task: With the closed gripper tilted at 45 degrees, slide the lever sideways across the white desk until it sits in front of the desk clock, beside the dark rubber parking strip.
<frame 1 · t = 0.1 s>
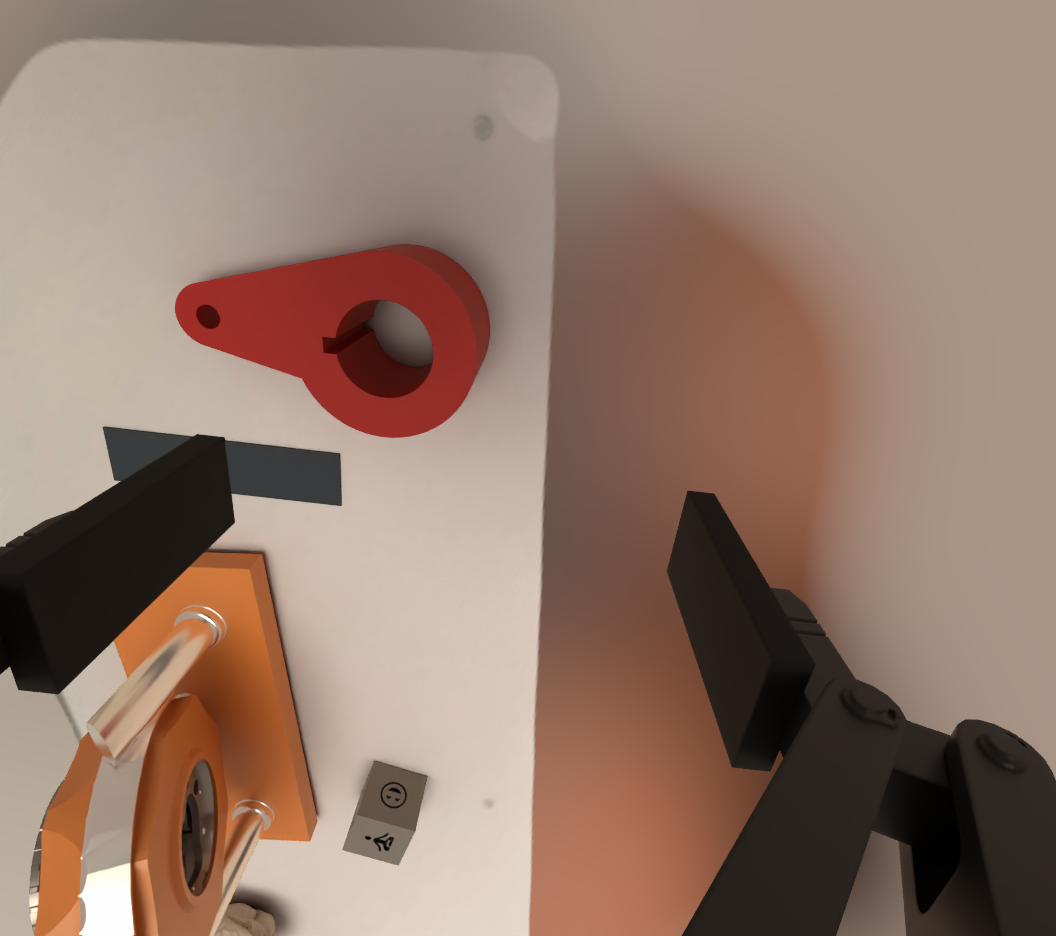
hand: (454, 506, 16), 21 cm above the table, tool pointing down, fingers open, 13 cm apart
parking strip: (225, 466, 39), on the table
desk clock: (232, 695, 48), on the table
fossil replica: (246, 915, 62), on the table
lever: (344, 319, 35), on the table
dice cube: (393, 783, 52), on the table
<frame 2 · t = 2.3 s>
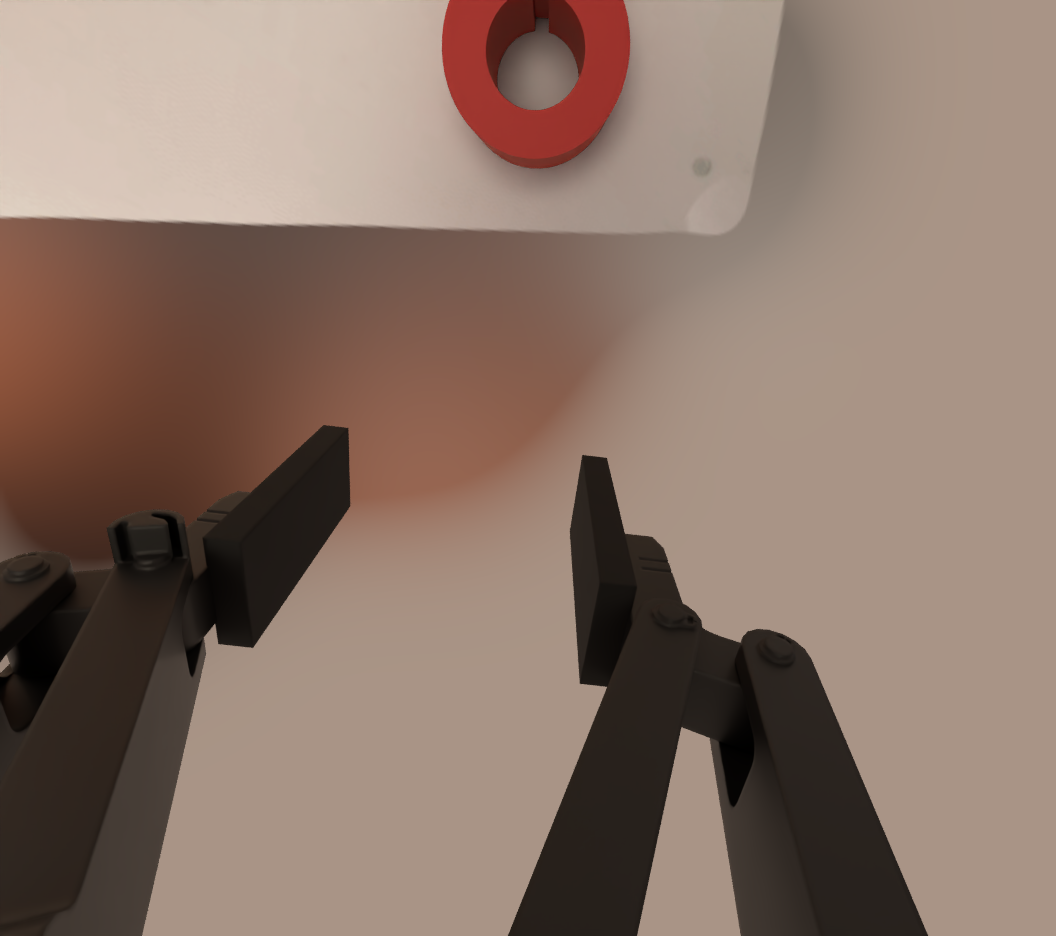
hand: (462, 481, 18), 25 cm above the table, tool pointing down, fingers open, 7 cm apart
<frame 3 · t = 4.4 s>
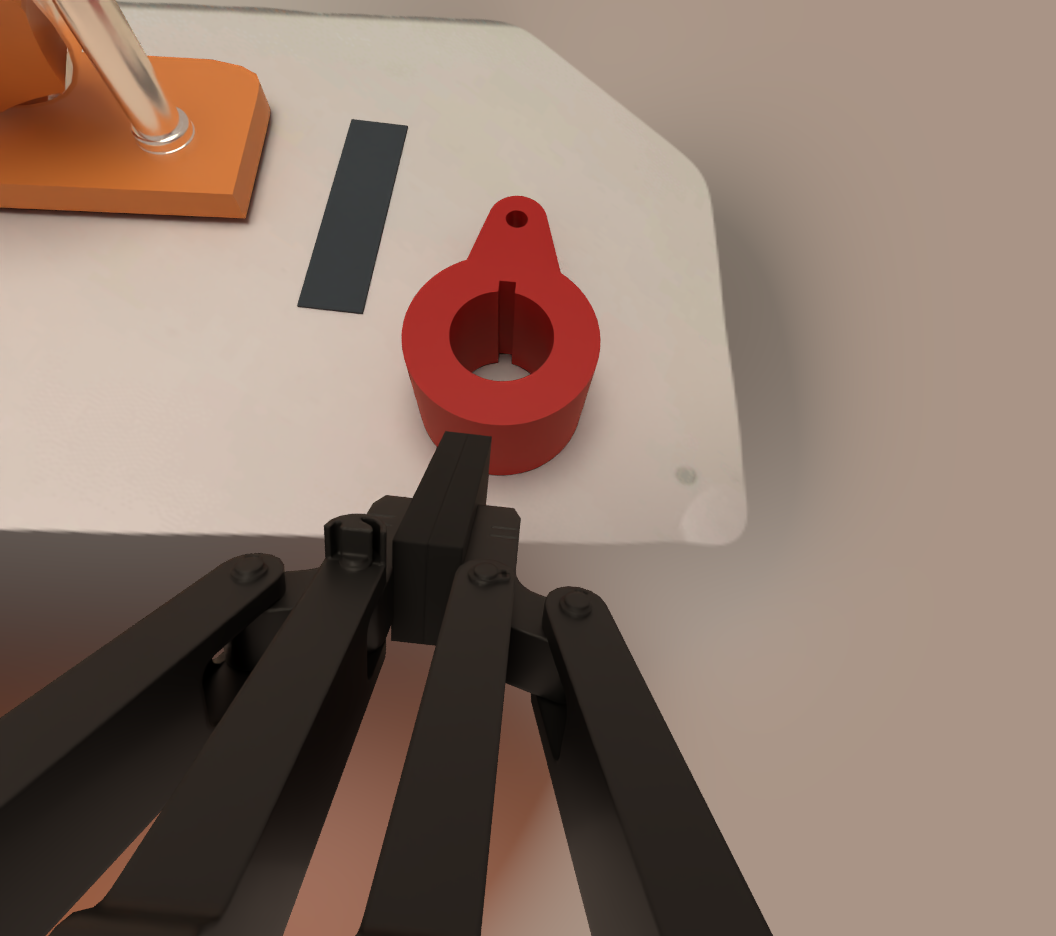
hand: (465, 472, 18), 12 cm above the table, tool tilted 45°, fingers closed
parking strip: (356, 209, 37), on the table
desk clock: (38, 151, 38), on the table
lever: (507, 338, 34), on the table
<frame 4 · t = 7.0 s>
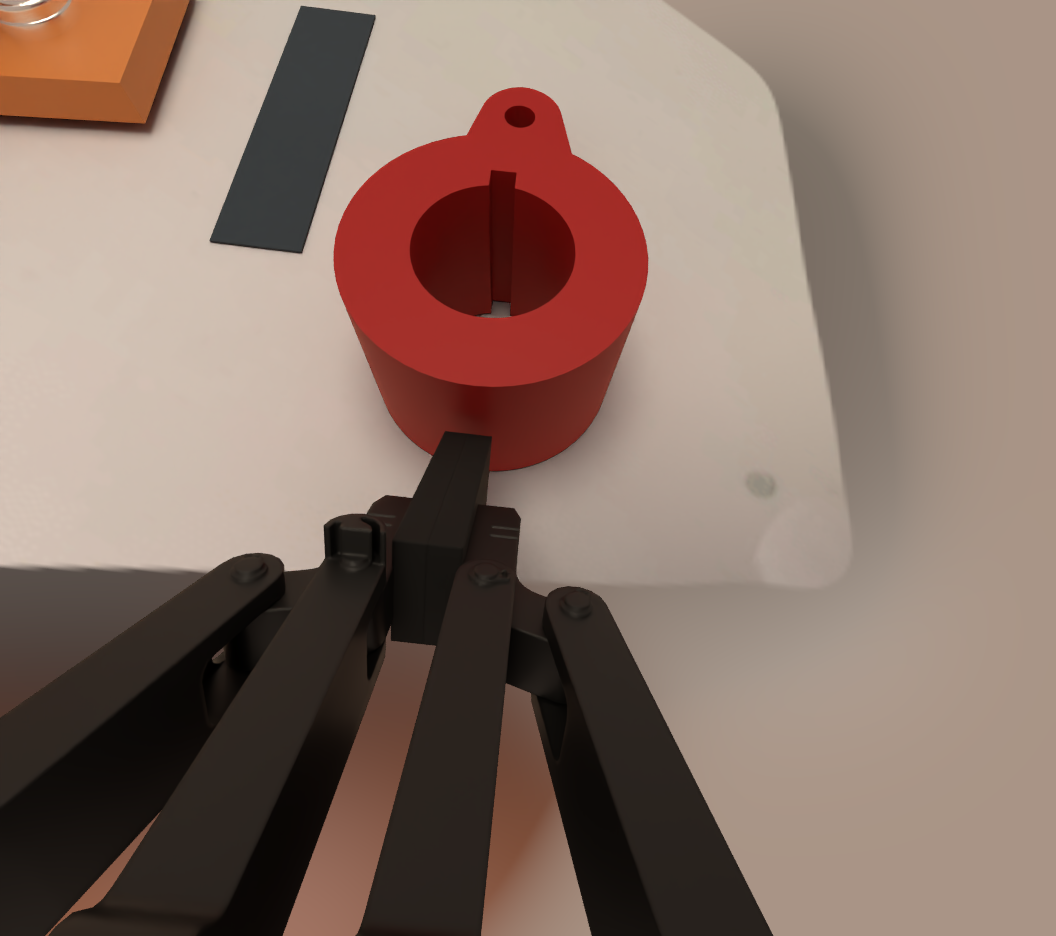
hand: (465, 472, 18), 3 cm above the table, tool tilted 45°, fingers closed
parking strip: (301, 117, 27), on the table
lever: (504, 282, 25), on the table, touching gripper
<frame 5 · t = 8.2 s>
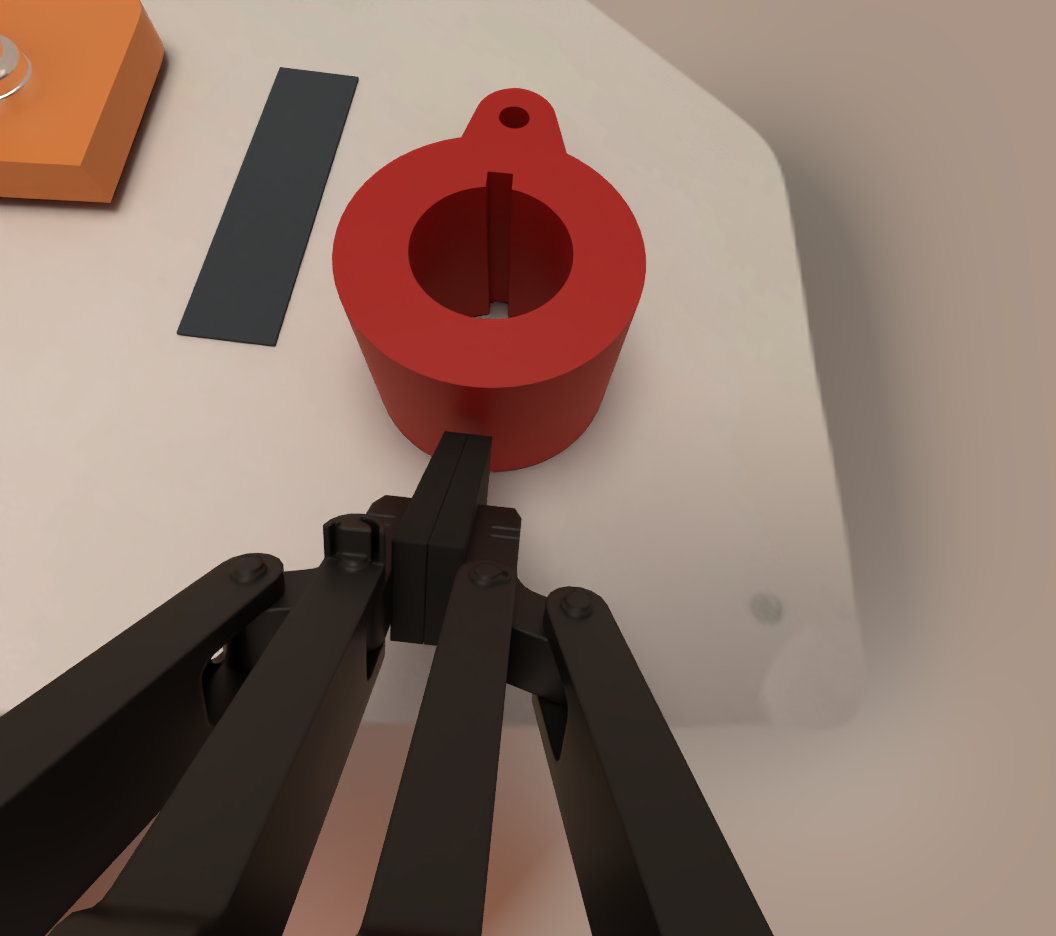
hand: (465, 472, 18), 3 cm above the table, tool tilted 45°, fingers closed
parking strip: (278, 192, 26), on the table
lever: (502, 282, 25), on the table, touching gripper
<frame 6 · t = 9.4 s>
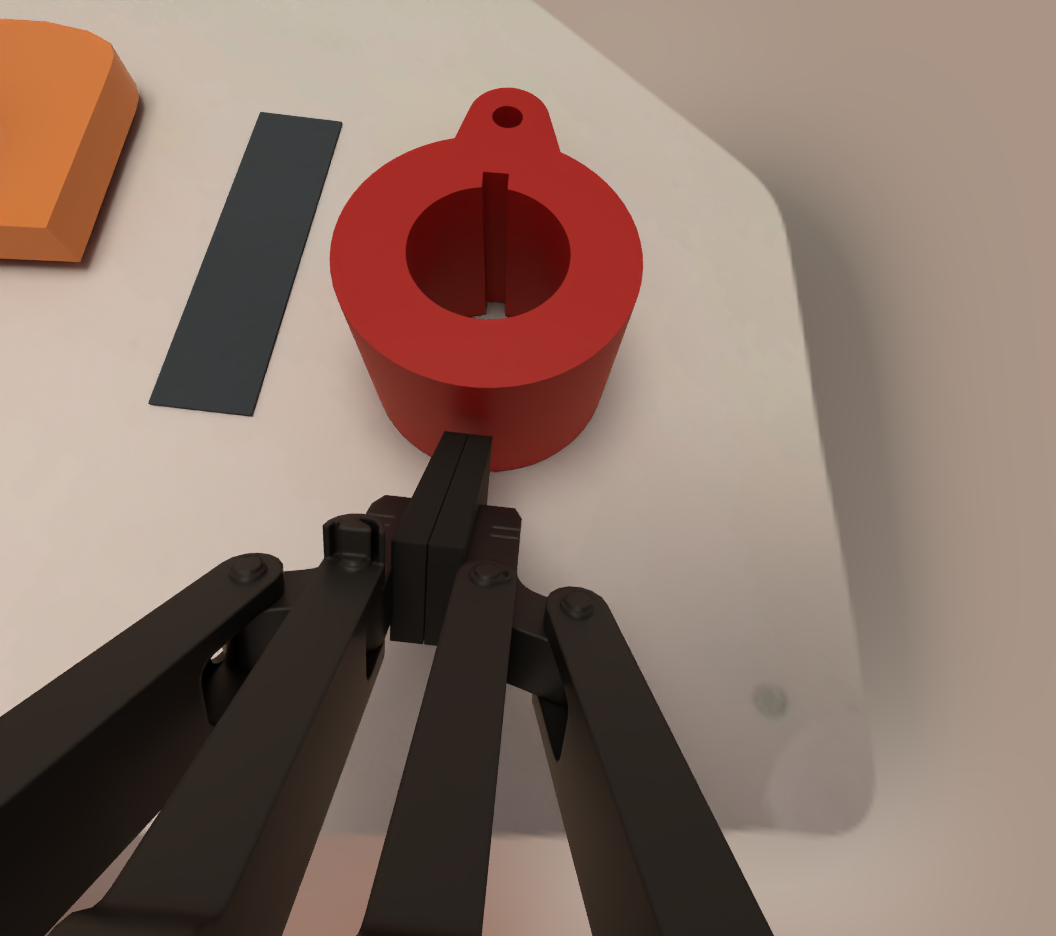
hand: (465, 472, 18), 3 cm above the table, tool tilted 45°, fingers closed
parking strip: (257, 247, 25), on the table
lever: (498, 282, 25), on the table, touching gripper
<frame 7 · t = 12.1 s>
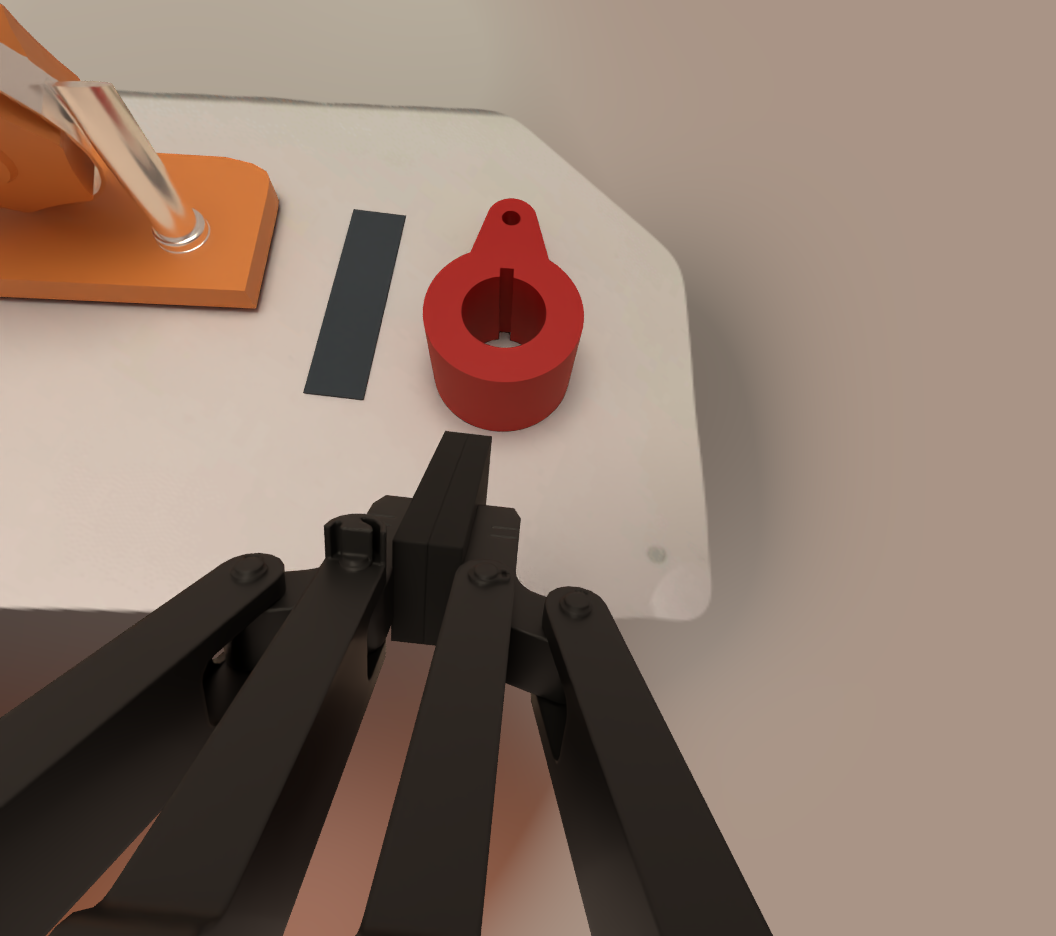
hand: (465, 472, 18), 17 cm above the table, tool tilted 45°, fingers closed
parking strip: (358, 298, 40), on the table
desk clock: (63, 240, 41), on the table
lever: (505, 319, 41), on the table
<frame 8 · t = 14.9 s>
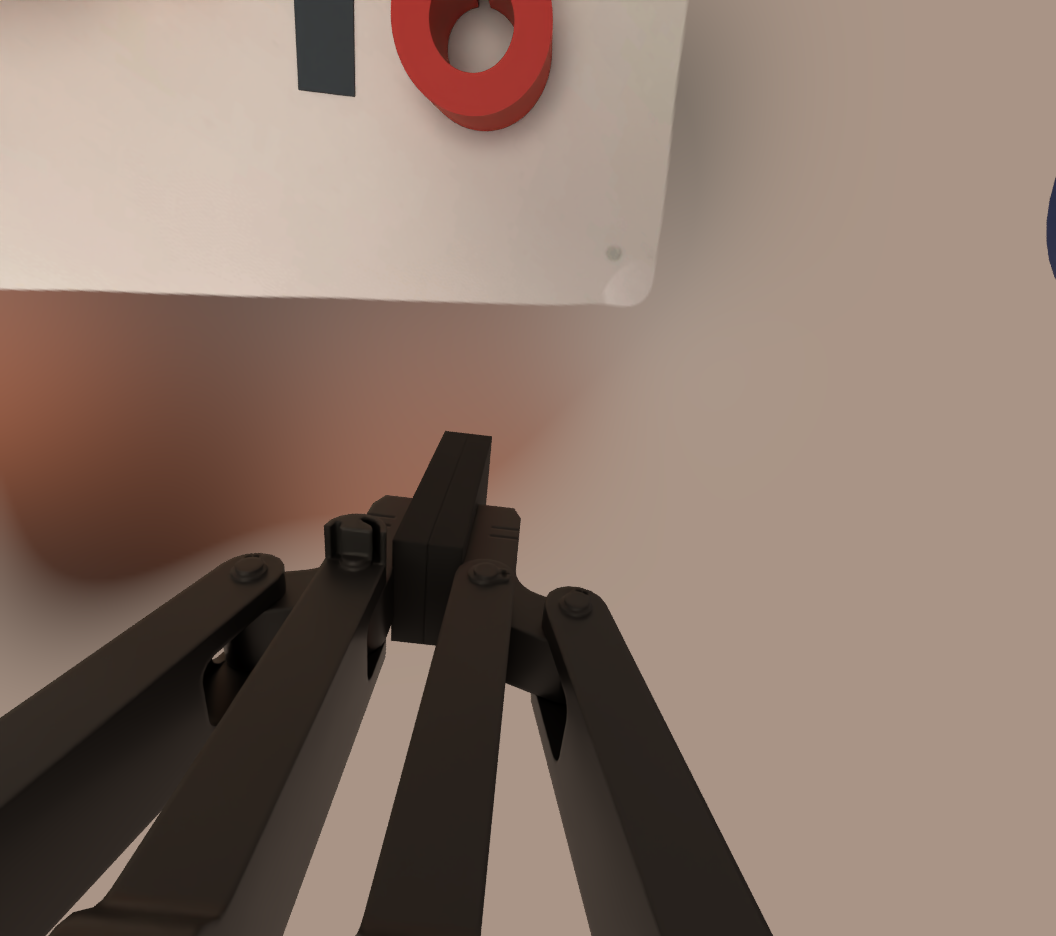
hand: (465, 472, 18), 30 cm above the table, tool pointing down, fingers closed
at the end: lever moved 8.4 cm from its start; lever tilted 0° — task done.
